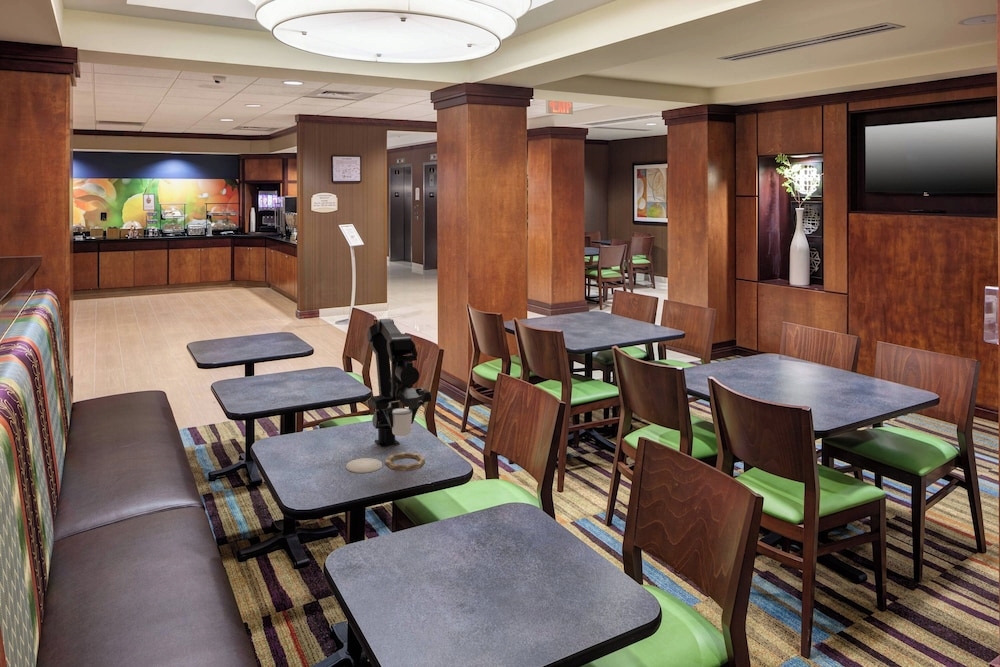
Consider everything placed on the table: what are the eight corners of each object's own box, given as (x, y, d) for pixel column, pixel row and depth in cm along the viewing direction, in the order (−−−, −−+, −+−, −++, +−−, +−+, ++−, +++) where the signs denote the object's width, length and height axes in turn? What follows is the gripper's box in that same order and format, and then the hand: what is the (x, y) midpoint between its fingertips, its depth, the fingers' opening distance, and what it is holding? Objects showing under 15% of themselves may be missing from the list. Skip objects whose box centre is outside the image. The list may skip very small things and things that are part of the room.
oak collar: (381, 460, 227) (381, 456, 226) (413, 453, 233) (413, 450, 232) (396, 472, 217) (395, 469, 217) (429, 465, 223) (429, 461, 223)
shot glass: (393, 428, 226) (393, 407, 225) (414, 429, 226) (414, 408, 224) (388, 435, 220) (387, 414, 218) (410, 437, 219) (409, 415, 218)
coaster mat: (340, 463, 224) (340, 462, 224) (374, 456, 229) (374, 455, 229) (353, 475, 215) (353, 474, 214) (388, 468, 220) (387, 467, 220)
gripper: (383, 387, 207) (384, 438, 211) (440, 379, 217) (440, 428, 221) (368, 378, 217) (369, 427, 220) (423, 370, 226) (423, 417, 230)
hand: (401, 425), depth 222 cm, fingers closed on shot glass, 6 cm apart
